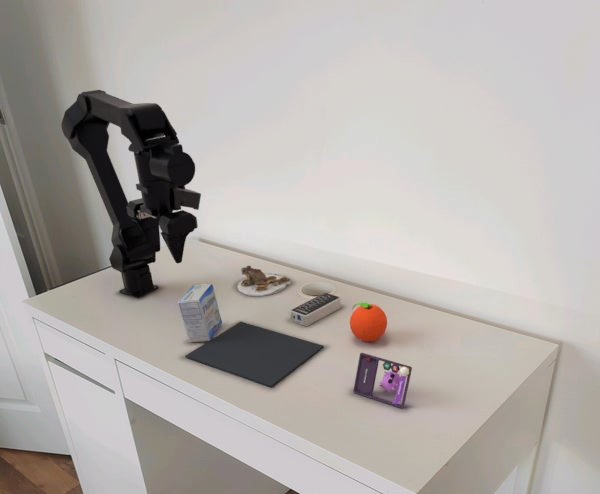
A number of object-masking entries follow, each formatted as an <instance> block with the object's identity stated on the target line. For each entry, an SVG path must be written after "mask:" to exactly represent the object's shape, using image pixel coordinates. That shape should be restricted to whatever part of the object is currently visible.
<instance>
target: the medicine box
mask: <svg viewBox="0 0 600 494" xmlns="http://www.w3.org/2000/svg"><path fill="white" fill-rule="evenodd" d="M177 304H178V308H179V312H180V314H181V318H182V321H183V325H184V328H185V332H186V336H187V338H188V341H189V343H201V342H208V341H211V340H212V339H213V338H214V336H215V334H216V333H217V331H218V330H219V328H220V327H221V325H222V324H223V320H222V317H221V312H220V309H219V305H218V300H217V297H216V293H215V289H214V285H213V283H204V284H203V283H201V284H193V285H192V286H190V288H189V289H188V290H187V292H186V293H185V294H184V295H183V296H182V298H181V299H180V300H179V301H178V302H177Z"/></svg>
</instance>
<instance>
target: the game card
mask: <svg viewBox="0 0 600 494" xmlns="http://www.w3.org/2000/svg"><path fill="white" fill-rule="evenodd" d="M380 361H381V362H383V363H382V367H383V370H385V371H384V374H383V377H382V381H381V382H379V387H382V388H383V390H385V391H386V392H388V393H392V392H393V393H394V392H396V394H395V398H394V399H393V401H391V400H387V399H384V398H382V397H378V396H375V395H373V394H374V388H375V383H376V379H377V373H378V367H379V364H380V363H379V362H380ZM390 370H391V371H390ZM412 370H413V367H412V366H409V365H407V364H403V363H400V362H396V361H393V360H390V359H385V358H382V357H379V356H375V355H372V354H368V353H365V352H360V353H359V358H358V362H357V368H356V374H355V378H354V383H353V384H354V385H353V391H352V392H353V394H357V395H360V396H363V397H366V398H369V399H372V400H375V401H378V402H381V403H384V404H387V405H390V406H394V407H396V408H399V409H403V408H405V405H406V399H407V395H408V390H409V385H410V380H411V376H412ZM400 402H401V403H400Z"/></svg>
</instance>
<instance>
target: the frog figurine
mask: <svg viewBox="0 0 600 494" xmlns="http://www.w3.org/2000/svg"><path fill="white" fill-rule="evenodd" d="M240 269H241V271H240V272H241V275H245V276H246V277H245V278H244V279H242V280H241V281H239V282H238V284H237V290H238V291H239V292H241V293H242V294H244V295H245V296H249V297H262V296H263V297H264V296H271V295H274V294H277V293H279V292H281V291H283V290H284V289H286V287H287V286H290V285H292V283H291V279H290V277H288V276H285V275H279V274H277V273H264V272H263V271H262V270H261V269H259V268H253V267H252V266H251V265H247V266H246V267H241V268H240Z"/></svg>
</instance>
